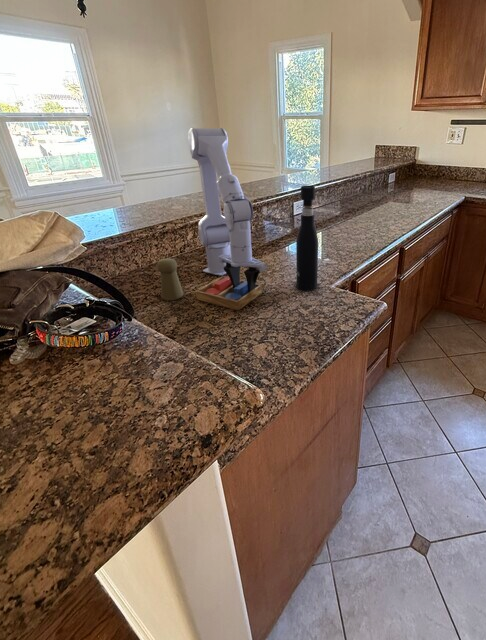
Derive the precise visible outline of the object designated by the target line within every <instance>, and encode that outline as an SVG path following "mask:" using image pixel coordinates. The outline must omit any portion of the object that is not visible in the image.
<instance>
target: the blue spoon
mask: <svg viewBox="0 0 486 640" xmlns="http://www.w3.org/2000/svg"><path fill="white" fill-rule="evenodd" d="M244 281H245V282H243V283H242V284H240V285H238V286H237V287H235V288H234V293H229V294H227V295H226V296H225V298H229V299H232V300H236V301H237V300H239V299H240V298H242V297H243V296H245V295H246V294H247V293H249V292H248V285H247V279H246V280H244Z"/></svg>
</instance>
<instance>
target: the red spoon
mask: <svg viewBox="0 0 486 640" xmlns="http://www.w3.org/2000/svg"><path fill="white" fill-rule="evenodd" d="M214 286H215V288H210V289H208V290H206V291H205V293H209V294H213V295H218V294H219V293H221V292H223V291H224V290H226V289H227V288H229V287H231V286H232V282H231V280H230V278H229V276H228V275H226V277H225V278H223V279H221V280H220V281H218V282H216V283H214Z"/></svg>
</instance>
